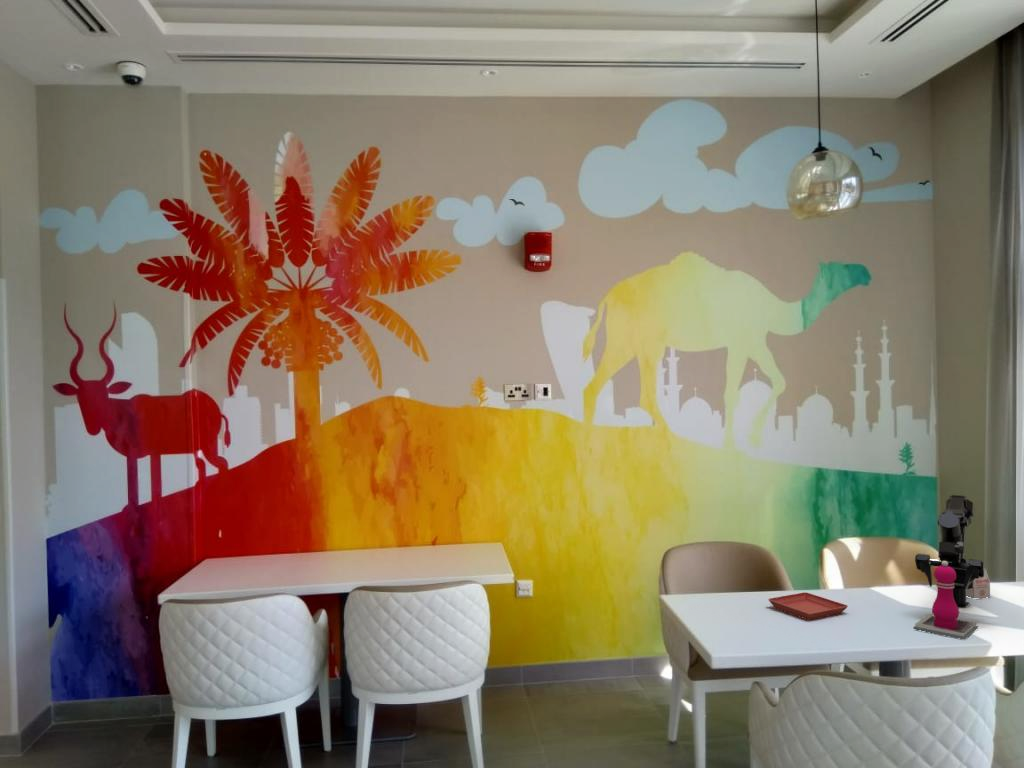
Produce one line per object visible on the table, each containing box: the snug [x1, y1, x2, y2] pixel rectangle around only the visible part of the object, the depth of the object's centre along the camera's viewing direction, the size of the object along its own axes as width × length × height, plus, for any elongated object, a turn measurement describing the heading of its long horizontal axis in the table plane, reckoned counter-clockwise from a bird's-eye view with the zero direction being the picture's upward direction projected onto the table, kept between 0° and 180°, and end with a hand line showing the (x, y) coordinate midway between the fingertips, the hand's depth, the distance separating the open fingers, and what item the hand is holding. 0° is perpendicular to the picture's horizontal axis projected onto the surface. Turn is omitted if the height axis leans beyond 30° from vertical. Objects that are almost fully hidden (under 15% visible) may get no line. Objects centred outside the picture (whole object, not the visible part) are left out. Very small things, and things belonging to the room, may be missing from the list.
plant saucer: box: [767, 591, 849, 620], centre depth 257 cm, size 18×18×3 cm
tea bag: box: [966, 567, 991, 598], centre depth 270 cm, size 4×7×10 cm, turn 101°
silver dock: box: [912, 614, 979, 640], centre depth 236 cm, size 14×14×2 cm
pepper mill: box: [931, 561, 960, 629], centre depth 237 cm, size 7×7×20 cm
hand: (947, 588), depth 240 cm, fingers open, 9 cm apart
